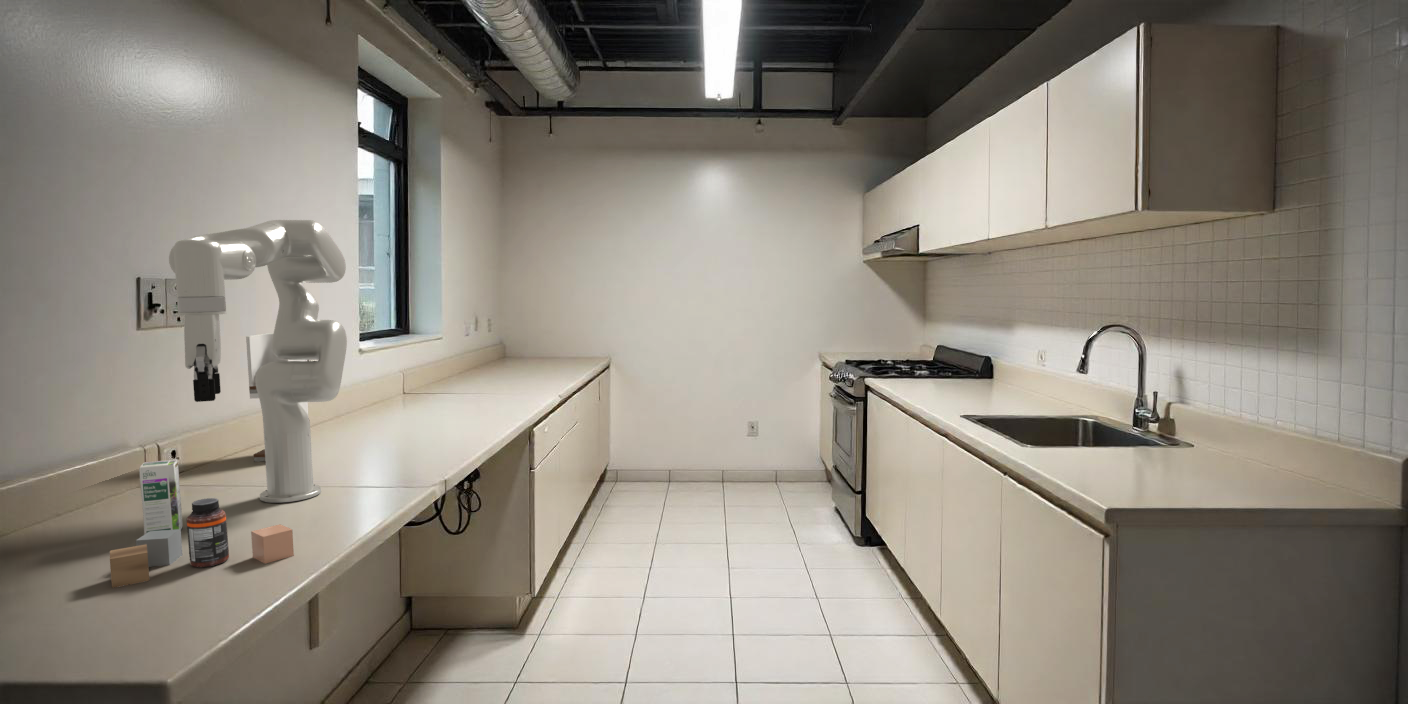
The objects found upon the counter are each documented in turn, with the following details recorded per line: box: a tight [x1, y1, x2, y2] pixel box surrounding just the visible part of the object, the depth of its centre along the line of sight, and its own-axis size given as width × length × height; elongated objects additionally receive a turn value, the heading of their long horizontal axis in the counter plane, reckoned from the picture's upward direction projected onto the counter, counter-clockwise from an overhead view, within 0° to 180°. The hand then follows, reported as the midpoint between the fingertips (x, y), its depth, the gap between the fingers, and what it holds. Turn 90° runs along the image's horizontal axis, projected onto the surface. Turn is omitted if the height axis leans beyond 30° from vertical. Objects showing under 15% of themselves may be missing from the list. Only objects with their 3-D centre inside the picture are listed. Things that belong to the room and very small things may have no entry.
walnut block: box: [109, 544, 150, 589], centre depth 128 cm, size 5×5×5 cm
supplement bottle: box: [186, 497, 230, 568], centre depth 136 cm, size 6×6×11 cm
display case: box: [245, 332, 309, 463], centre depth 217 cm, size 11×11×35 cm
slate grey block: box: [135, 529, 183, 568], centre depth 137 cm, size 5×5×5 cm
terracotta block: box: [250, 524, 295, 565], centre depth 139 cm, size 5×5×5 cm
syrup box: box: [138, 458, 183, 535], centre depth 151 cm, size 6×6×14 cm
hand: (208, 397), depth 143 cm, fingers open, 9 cm apart
